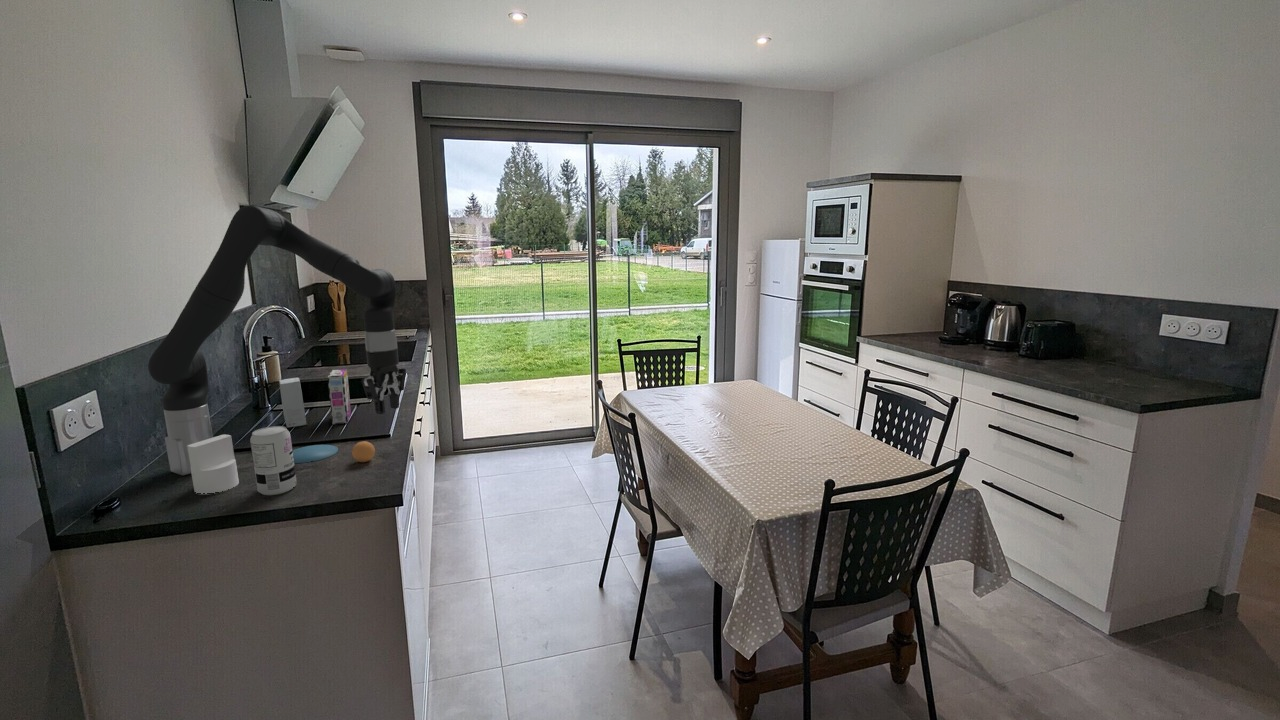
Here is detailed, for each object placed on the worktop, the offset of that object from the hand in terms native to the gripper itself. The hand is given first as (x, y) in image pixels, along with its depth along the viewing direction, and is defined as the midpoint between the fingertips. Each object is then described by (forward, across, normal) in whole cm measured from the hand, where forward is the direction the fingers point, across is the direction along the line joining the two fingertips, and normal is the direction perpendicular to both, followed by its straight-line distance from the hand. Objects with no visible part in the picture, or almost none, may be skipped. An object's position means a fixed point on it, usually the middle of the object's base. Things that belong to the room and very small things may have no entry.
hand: (387, 410), depth 155 cm
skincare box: (+16, -21, -57) cm, 62 cm away
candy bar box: (+16, -29, -45) cm, 56 cm away
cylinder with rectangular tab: (+16, +24, -32) cm, 43 cm away
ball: (+13, 0, -10) cm, 16 cm away
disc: (+15, 0, -28) cm, 32 cm away
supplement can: (+16, +21, -16) cm, 31 cm away
